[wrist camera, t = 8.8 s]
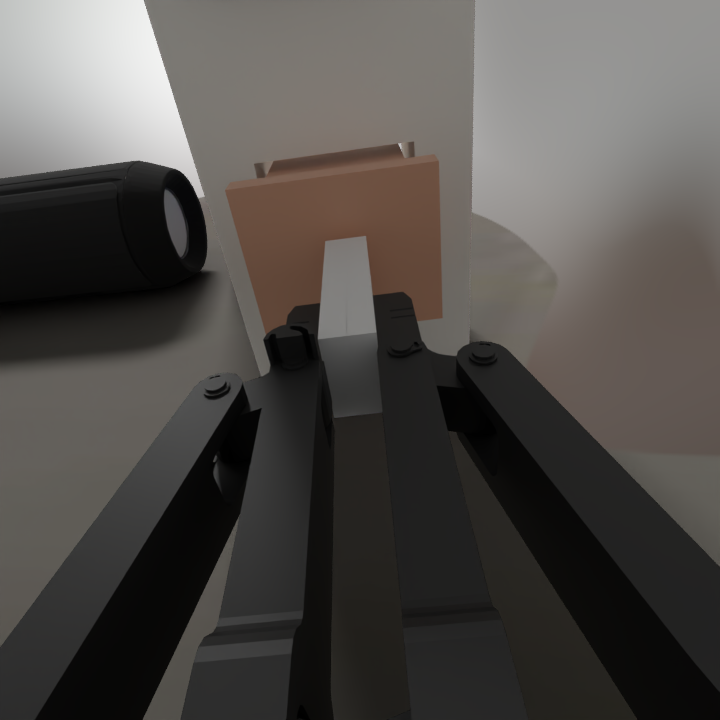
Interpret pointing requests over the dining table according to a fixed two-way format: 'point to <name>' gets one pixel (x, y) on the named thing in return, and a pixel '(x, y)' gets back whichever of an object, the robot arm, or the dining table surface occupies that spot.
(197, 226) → the portable speaker
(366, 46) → the button panel
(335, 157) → the lower button
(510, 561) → the dining table surface
